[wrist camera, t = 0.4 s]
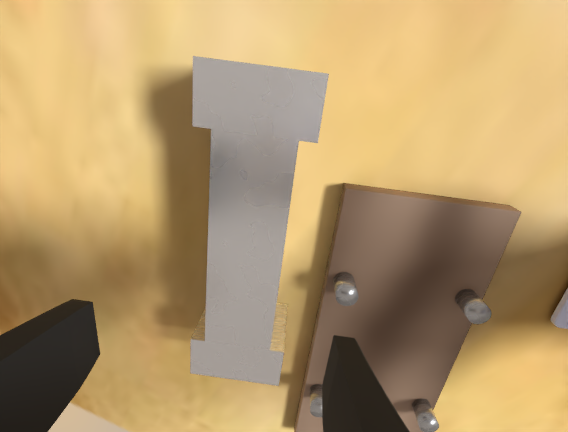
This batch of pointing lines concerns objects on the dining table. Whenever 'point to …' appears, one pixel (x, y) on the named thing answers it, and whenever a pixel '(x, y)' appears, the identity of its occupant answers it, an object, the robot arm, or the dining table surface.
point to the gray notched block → (249, 208)
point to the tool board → (404, 292)
